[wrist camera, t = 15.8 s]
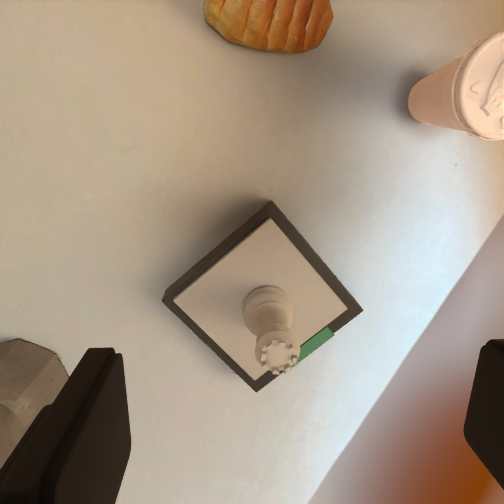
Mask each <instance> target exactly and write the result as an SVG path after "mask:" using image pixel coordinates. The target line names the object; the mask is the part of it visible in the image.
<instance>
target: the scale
mask: <svg viewBox="0 0 504 504" xmlns="http://www.w3.org/2000/svg"><path fill="white" fill-rule="evenodd" d="M265 287H271V288H278V289H279V290H281V291H283V292H284V293H286V294H287V296H288V297H289V299H290V300H291V303H292V307H293V312H294V316H293V320H292V324H291V326H290V327H289V329H290V331H291V332H292V334H293V335H294V336H295V338H296V339H297V340H298V342H299V345H300V354H299V358H298V359H297V363H299V362H300V361H301V360H303V359H304V358H305V357H307V356H308V355H309V354H311V353H312V352H313V351H314V350H316V349H317V348H318V347H320V346H321V345H322V344H324V343H325V342H326V341H328V340H329V339H330V338H331V337H333V336H334V333H335V332H336V331H337V330H339V329H340V328H341V327H343V326H344V325H345V324H347V323H348V322H349V321H350V320H352V319H353V318H354V317H356V316H357V315H358V314H360V313H361V312H362V311H363V309H362V308H361V306H360V305H359V304H358V303H357V301H356V300H355V299H354V298H353V297H352V295H351V294H350V293H349V292H348V291H347V289H346V288H345V287H344V286H343V285H342V283H341V282H340V281H339V280H338V279H337V277H336V276H335V275H334V274H333V273H332V272H331V270H330V269H329V268H328V267H327V266H326V264H325V263H324V262H323V261H322V260H321V258H320V257H319V256H318V255H317V254H316V252H315V251H314V250H313V249H312V248H311V246H310V245H309V244H308V243H307V242H306V240H305V239H304V238H303V237H302V236H301V235H300V233H299V232H298V231H297V230H296V229H295V227H294V226H293V225H292V224H291V223H290V221H289V220H288V219H287V218H286V217H285V215H284V214H283V213H282V212H281V211H280V209H279V208H278V207H277V206H276V205H275V203H274V202H273V201H271V202H269V203H268V204H267V205H266V206H265V207H263V208H262V209H261V210H260V211H259V212H258V213H256V214H255V215H254V216H253V217H252V218H251V219H249V220H248V221H247V222H246V223H245V224H243V225H242V226H241V227H240V228H239V229H238V230H236V231H235V232H234V233H233V234H232V235H230V236H229V237H228V238H227V239H226V240H225V241H223V242H222V243H221V244H220V245H219V246H218V247H216V248H215V249H214V250H213V251H212V252H210V253H209V254H208V255H207V256H206V257H205V258H203V259H202V260H201V261H200V262H199V263H198V264H196V265H195V266H194V267H193V268H192V269H190V270H189V271H188V272H187V273H186V274H185V275H183V276H182V277H181V278H180V279H179V280H178V281H176V282H175V283H174V284H173V285H172V286H170V287H169V288H168V289H167V290H166V291H165V294H164V296H163V299H162V302H163V303H164V304H165V305H166V306H167V307H168V308H169V309H170V310H171V311H172V312H173V313H174V314H175V315H176V316H178V317H179V318H180V319H181V320H182V321H183V322H184V323H185V324H186V325H187V326H188V327H189V328H190V329H191V330H192V331H193V332H194V333H195V334H196V335H197V336H198V337H199V338H200V339H201V340H202V341H203V342H204V343H205V344H207V345H208V346H209V347H210V348H211V349H212V350H213V351H214V352H215V353H216V354H217V355H218V356H219V357H220V358H221V359H222V360H223V361H224V362H225V363H226V364H227V365H228V366H229V367H230V368H231V369H232V370H233V371H235V372H236V373H237V374H238V375H239V376H240V377H241V378H242V379H243V380H244V381H245V382H246V383H247V384H248V385H249V386H250V387H251V388H252V389H253V390H254V391H255V392H258V391H259V390H260V389H262V388H263V387H264V386H266V385H267V384H268V383H269V382H271V381H272V380H273V379H275V378H276V377H277V376H279V375H280V374H281V373H283V372H284V373H286V372H285V370H281V371H279V375H277V374H272V371H271V370H267V371H266V370H265V368H264V367H262V366H261V365H260V364H259V363H258V362H257V360H256V357H255V353H254V352H255V347H256V338H257V336H255V335H254V334H252V333H251V332H250V330H249V329H248V328H247V327H246V325H245V322H244V318H243V314H242V309H243V304H244V302H245V300H246V299H247V297H248V296H249V295H250V294H251V293H253V292H254V291H256V290H257V289H261V288H265ZM297 363H296V364H297ZM296 364H294V365H292V366H291V367H293V366H295V365H296Z"/></svg>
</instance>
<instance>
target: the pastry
mask: <svg viewBox="0 0 504 504" xmlns="http://www.w3.org/2000/svg"><path fill="white" fill-rule="evenodd" d="M203 10H204V16H205V19H206V20H207V22H208V23H209V24H210V25H211V26H212V27H213V28H215V29H216V30H217V31H218V32H219V33H220V34H221V35H222V36H223V37H224V38H225V39H226V40H228V41H230V42H234V43H238V44H241V45H245V46H248V47H251V48H254V49H258V50H268V51H276V52H285V53H300V52H304V51H307V50H310V49H312V48H315V47H317V46H318V45H319V44H320V43H321V42H322V40H323V38H324V37H325V35H326V32H327V30H328V28H329V26H330V25H331V23H332V20H333V12H332V9H331V6H330V1H329V0H206V1H205V4H204V8H203Z"/></svg>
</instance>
